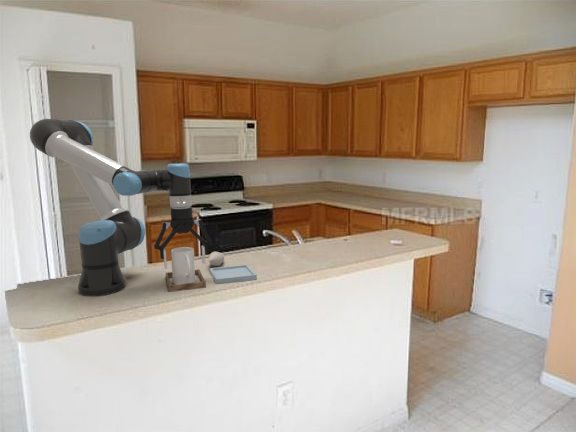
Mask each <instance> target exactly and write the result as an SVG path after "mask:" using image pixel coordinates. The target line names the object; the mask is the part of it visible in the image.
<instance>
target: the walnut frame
mask: <svg viewBox="0 0 576 432" xmlns="http://www.w3.org/2000/svg"><path fill="white" fill-rule="evenodd" d="M195 276H197V277H198V279H199V281H197V282H196V281H195V282H193V283H185V284H171V281H170V279H172V271H169V272H165V280H166V285H167V289H168V290H167V291H168V293H169V292H176V291H177V292H178V291H186V290H194V289H202V288H206V284H207V283H206V280H205V278H204V276H203V274H202V272H201V270H200V269H199V268H198V269H195Z"/></svg>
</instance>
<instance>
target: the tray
mask: <svg viewBox="0 0 576 432" xmlns="http://www.w3.org/2000/svg"><path fill="white" fill-rule="evenodd" d="M209 274H210V276H211V277H212V279H213V280H214V282H215V283H216V285H220V284H221V285H222V284H229V283H237V282H246V281H256V280H257V279H258V277H257V276H258V275H257V273H256V272H255V271H254V270H253V269H252V268H251V267H250V266H249V265H248V264H240V265H239V264H238V265H229V266H221V267H220V266H217V267H211V268H209Z"/></svg>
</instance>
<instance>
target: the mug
mask: <svg viewBox="0 0 576 432" xmlns="http://www.w3.org/2000/svg"><path fill="white" fill-rule="evenodd" d="M170 255H171V272H172V278H171V279H172V280H171V283H172V285H176V284H185V283H194V282H196V281H197V279H196V275H195V270H196V269H195V250H194V247H187V246H181V247H175V248H172V249H171V251H170Z"/></svg>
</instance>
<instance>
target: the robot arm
mask: <svg viewBox="0 0 576 432" xmlns="http://www.w3.org/2000/svg"><path fill="white" fill-rule="evenodd" d="M29 139H30V142H31V144H32V146H34V148H36V149H37V151H39V152H41V153H43V154H44V155H46V156H47V157H51V158H59V159H61V160H62V161H63V162H64V163H68V164H69V165H70V167H71V168H72V170H73V172H74V174H75V176H76V177H77V179H78V181H79V183H80V185H81V186H82V188H83V189H84V192H85V193H86V195H87V197H88V199H89V200H90V203H91V204H92V206H93V208H94V209H95V211H96V213H97V214H98V216H99V218H100V220H96V221H91V222H88V223H85V224H83V225H82V226H81V227H80V229H79V231H78V233H79V236H78V242H79V249H80V261H81V274H80V277H79V281H78V285H77V288H78V289H77V290H78V294H80V295H83V296H88V297H89V296H92V297H95V296H96V297H97V296H107V295H111V294H113V293H114V294H115V293H117V292H120V291H123V290H124V289H125V288H126V279H125V276H124V275H123V272H122V270H121V268H120V265H119V264H120V263H119V255H120V254H122V253H124V252H126V251H127V252H128V251H130V250H133V249H134V248H136V247H139V246H140V245H141V244H142V243H143V241H144V240H145V235H146V229H145V225H144V223H143V221H141V220H140V219H139V218H137V217H135V216H132V214H131V212H130V210H128V209H126V208H123V207H122V205H121V203H120V201H119V200H118V197H117V195H116V194H115V192H116V193H117V194H118V195H120V196H123V197H125V196H127V197H128V196H129V197H130V196H135V195H138V194H139V195H140V194H145V193H150V192H162V191H163V192H164V191H166V192H168V193H169V206H170V222H166V221H162V223H161V224H162V226H161V229H160V232H159V234H158V236H157V239H156V241H155V243H154V249H155V250H159V254H160V256H159V257H160V259H161V260H163V265H164V269H168V266H167V264H168V263H167V252H166V251H167V250H166V247H167V246H168V244H169V242H171V240H172V239H173V238H174V236H176V234H178V235H181V234H189V233H191V234H192V235H193V236H195V238H196V239H197V240H198V241H199V242H200V243H201V244H202V245H201V246H200V247H201V259H202V260H201V261H202V264H203V265H206V264H207V263H206V255H208V254H209V252H208V251H209V248H208V246H209V245H212V244H213V240H212V239H211V237H210V236H209V234H208V231H206V229H205V226H204V225H203V220H202V218H198V219H195V220H194V215H193V208H192V207H191V206H192V205H193V201H192V187H191V186H192V185H191V176H192V175H191V172H190V171H191V170H190V166H189V164H188V163H169V164H167V169H149V168H148V169H142V170H133V169H132V168H129V167H127V166H125V165H123V164H121V163H119V162H117V161H115V160H113V159H111V158H109V157H107V156H105V155H104V154H102V153H100V152H97V151H96V150H94V146H93V145H94V135H93V133H92V131H91V129H90V127H89V126H87V124H85V123H84V122H81V121H77V120H73V119H54V118H42V119H40V120H38V121H36V122H34V124H33V125H32V127H30V130H29ZM110 185H111V186H113V188H114V190H115V192H114V191H113V189H112V187H111V186H110ZM194 225H196V226H197V227H199V229H200V230H201V232H202V233H203V235H204V237H205V239H206V240H205V239H204V238H203V237H202V236H201V235H200V234H199V233H198V232H197V231H196V230H195V229H194V228H193V227H195V226H194ZM169 227H171V228H172V230H171V231H170V232H169V234H168V236H167V237H166V238H165V239H164V241H163V242H162V240H163V238H164V235H165V232H166V231H167V230H168V228H169ZM160 244H161V245H160Z"/></svg>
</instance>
